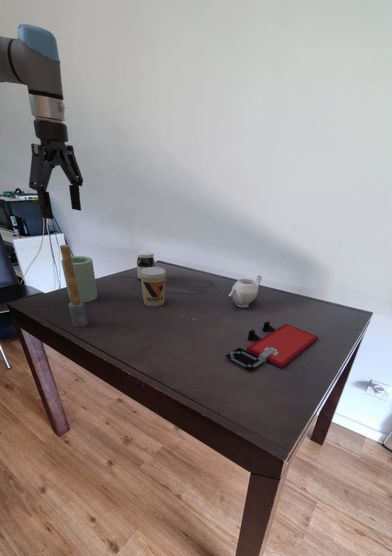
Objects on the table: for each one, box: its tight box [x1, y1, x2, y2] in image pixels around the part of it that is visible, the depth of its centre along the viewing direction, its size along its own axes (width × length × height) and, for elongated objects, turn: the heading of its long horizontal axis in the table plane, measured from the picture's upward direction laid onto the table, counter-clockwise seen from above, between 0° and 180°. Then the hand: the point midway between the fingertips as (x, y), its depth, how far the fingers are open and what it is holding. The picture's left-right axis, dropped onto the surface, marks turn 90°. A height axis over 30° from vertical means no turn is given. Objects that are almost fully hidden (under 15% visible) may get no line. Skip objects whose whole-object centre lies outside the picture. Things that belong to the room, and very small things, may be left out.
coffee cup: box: [140, 266, 167, 307], centre depth 103 cm, size 9×9×12 cm
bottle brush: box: [59, 244, 89, 328], centre depth 83 cm, size 4×4×24 cm
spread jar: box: [136, 250, 161, 282], centre depth 124 cm, size 12×11×12 cm
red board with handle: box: [225, 320, 319, 371], centre depth 82 cm, size 30×3×15 cm
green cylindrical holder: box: [60, 255, 99, 303], centre depth 104 cm, size 10×10×14 cm
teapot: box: [228, 275, 262, 308], centre depth 106 cm, size 10×20×9 cm, turn 138°
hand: (63, 213), depth 82 cm, fingers open, 13 cm apart
